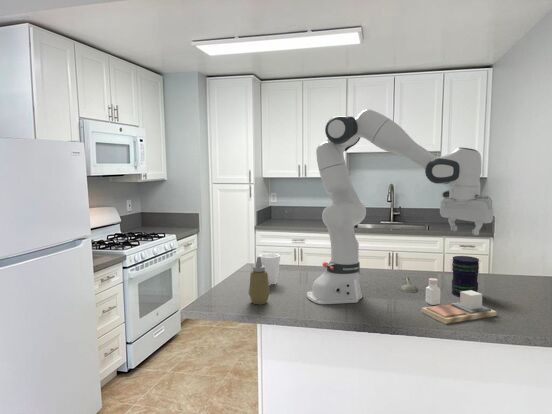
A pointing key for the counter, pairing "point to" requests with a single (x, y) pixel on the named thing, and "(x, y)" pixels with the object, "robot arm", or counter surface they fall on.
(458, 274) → the storage jar
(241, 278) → the counter surface
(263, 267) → the squeeze bottle
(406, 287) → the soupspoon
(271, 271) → the foam cup
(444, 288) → the counter surface
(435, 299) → the pepper shaker
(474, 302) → the cream block
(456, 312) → the oak board
